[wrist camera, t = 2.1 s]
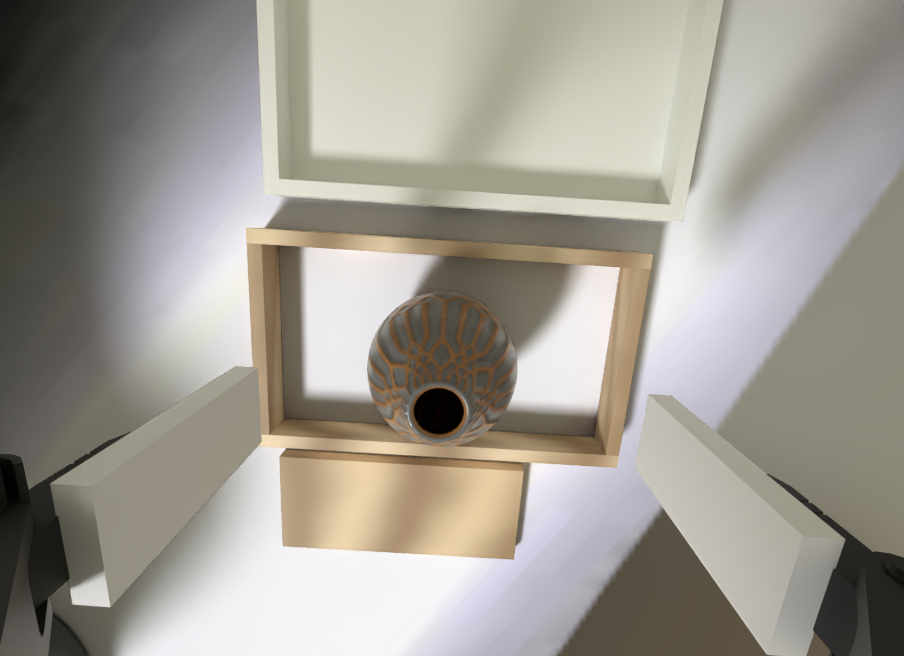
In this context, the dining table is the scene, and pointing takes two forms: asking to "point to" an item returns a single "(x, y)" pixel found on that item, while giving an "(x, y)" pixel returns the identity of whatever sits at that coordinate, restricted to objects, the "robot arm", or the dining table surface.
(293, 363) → the dining table surface
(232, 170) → the dining table surface
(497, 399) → the vase
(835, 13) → the dining table surface
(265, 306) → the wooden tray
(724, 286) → the dining table surface
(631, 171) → the off-white tray
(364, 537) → the lid
